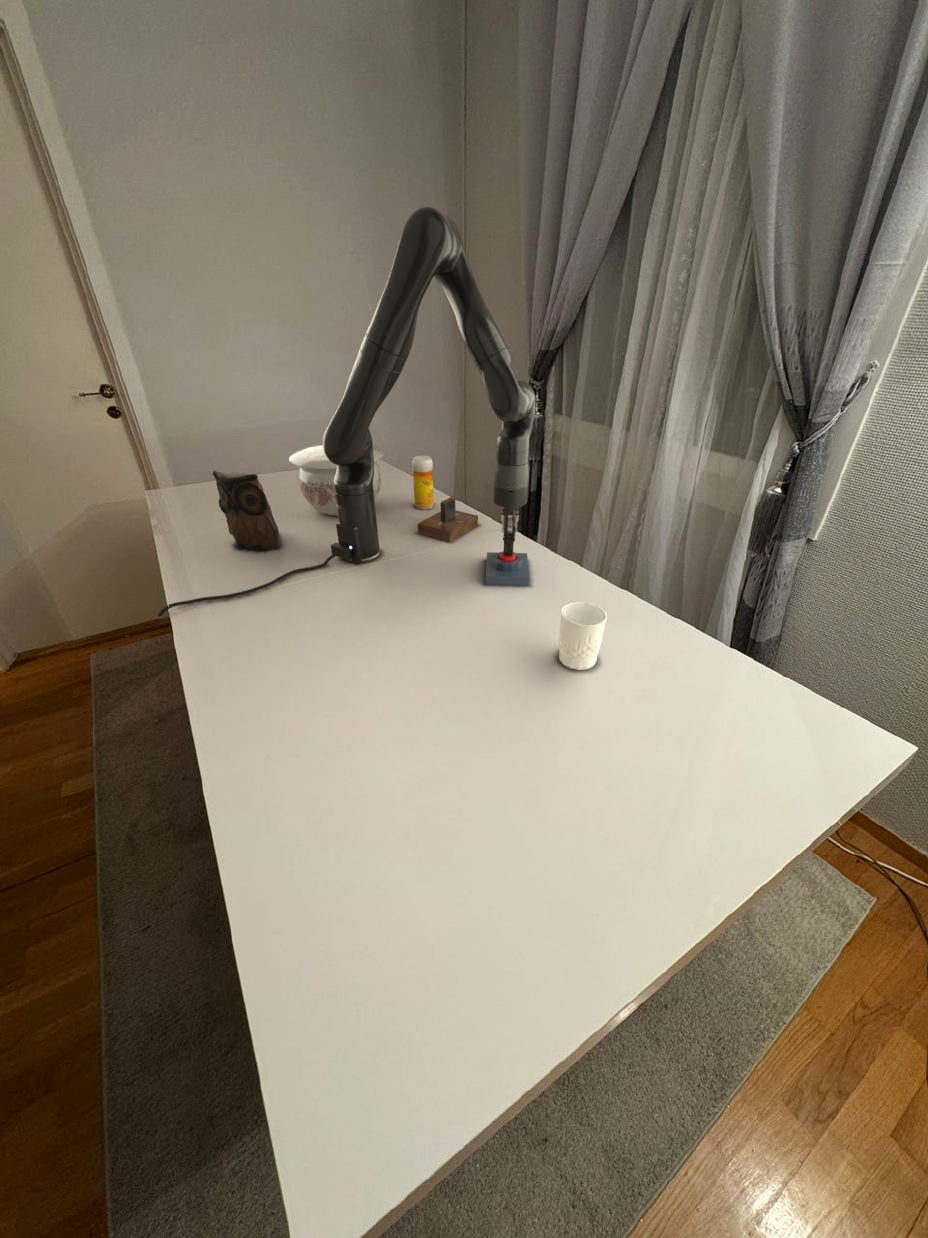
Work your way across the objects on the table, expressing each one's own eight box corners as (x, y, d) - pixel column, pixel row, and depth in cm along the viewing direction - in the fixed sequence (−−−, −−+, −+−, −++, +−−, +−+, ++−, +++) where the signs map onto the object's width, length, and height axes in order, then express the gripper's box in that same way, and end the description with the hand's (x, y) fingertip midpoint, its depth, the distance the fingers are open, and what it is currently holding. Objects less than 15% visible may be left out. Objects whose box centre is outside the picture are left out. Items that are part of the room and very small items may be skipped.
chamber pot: (381, 525, 150) (374, 452, 139) (287, 525, 150) (272, 452, 139) (393, 493, 173) (388, 428, 162) (312, 492, 174) (301, 428, 163)
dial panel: (450, 542, 140) (450, 531, 138) (418, 533, 145) (417, 522, 143) (477, 525, 150) (478, 515, 148) (446, 517, 155) (446, 507, 153)
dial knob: (445, 522, 144) (445, 502, 141) (440, 521, 144) (440, 501, 141) (455, 516, 147) (455, 497, 144) (451, 515, 148) (450, 496, 145)
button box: (528, 586, 119) (529, 570, 117) (485, 584, 120) (485, 569, 118) (526, 561, 130) (527, 546, 128) (486, 560, 131) (487, 545, 129)
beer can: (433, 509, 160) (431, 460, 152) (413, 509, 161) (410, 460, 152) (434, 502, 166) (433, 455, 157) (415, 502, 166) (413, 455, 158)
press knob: (515, 566, 122) (516, 558, 121) (498, 565, 122) (499, 557, 121) (515, 558, 125) (516, 550, 124) (498, 558, 125) (499, 550, 124)
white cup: (601, 651, 98) (609, 606, 92) (596, 676, 92) (604, 629, 86) (559, 643, 100) (565, 598, 95) (552, 667, 94) (557, 621, 88)
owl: (283, 549, 136) (267, 474, 125) (232, 558, 132) (210, 481, 121) (276, 532, 146) (261, 460, 135) (229, 540, 142) (209, 466, 131)
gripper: (494, 472, 119) (492, 542, 128) (493, 492, 108) (491, 566, 117) (527, 473, 118) (523, 543, 128) (529, 492, 107) (525, 567, 117)
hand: (508, 554), depth 122 cm, fingers closed
